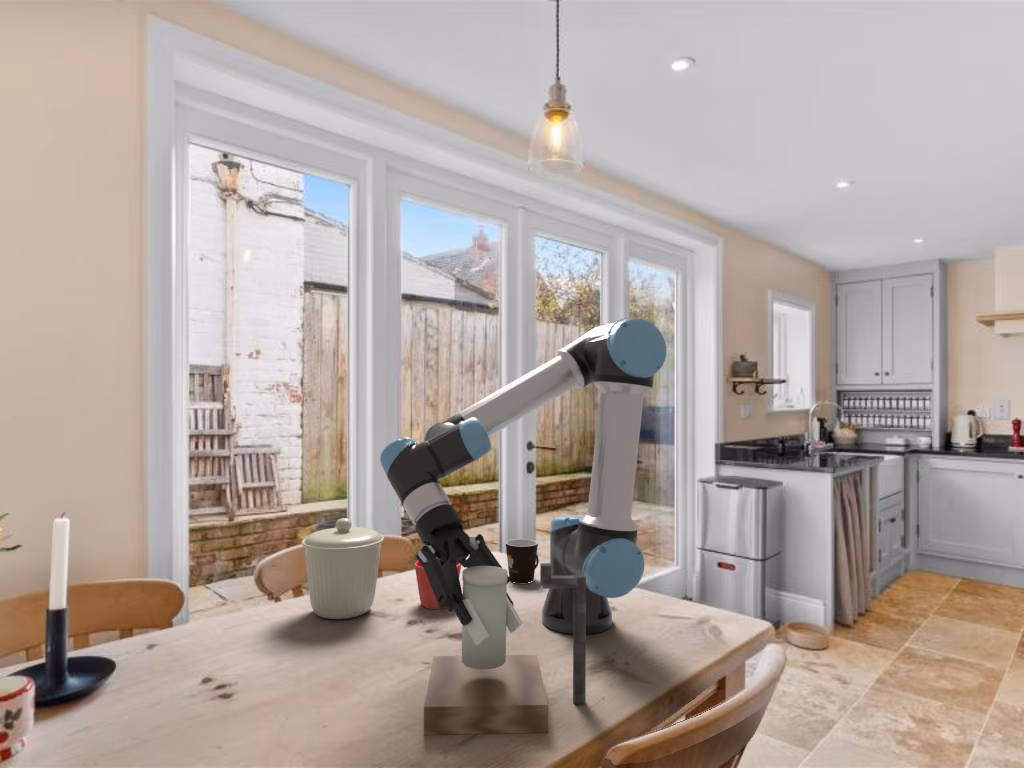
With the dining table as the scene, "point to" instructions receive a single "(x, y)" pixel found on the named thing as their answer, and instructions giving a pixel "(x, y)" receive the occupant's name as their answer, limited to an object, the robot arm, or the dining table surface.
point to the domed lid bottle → (486, 616)
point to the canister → (342, 569)
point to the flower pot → (428, 587)
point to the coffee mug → (522, 559)
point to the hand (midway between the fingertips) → (500, 634)
